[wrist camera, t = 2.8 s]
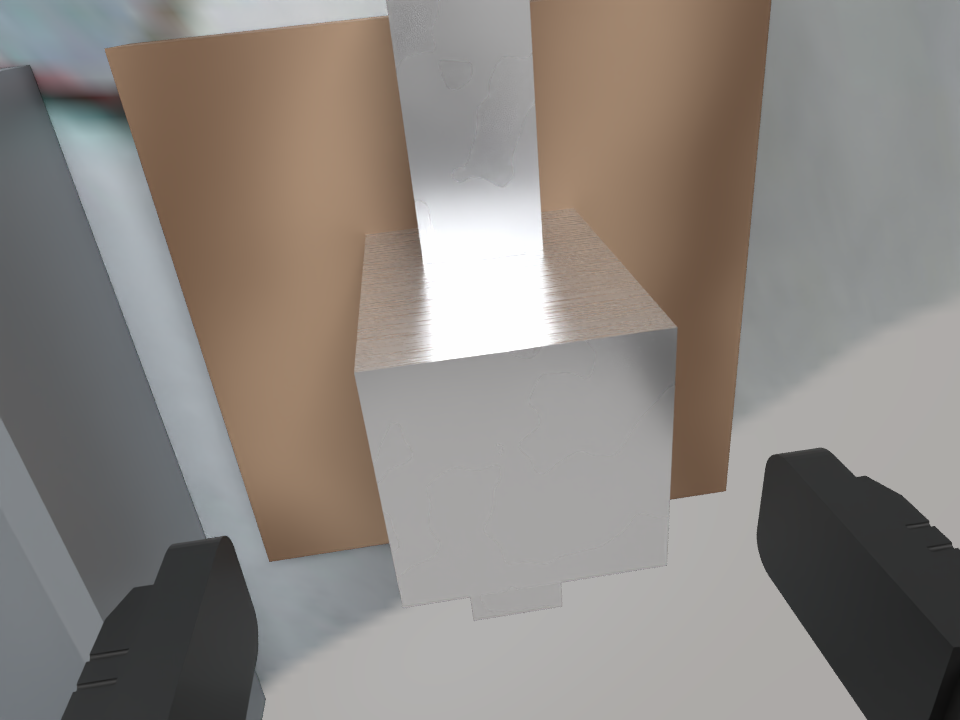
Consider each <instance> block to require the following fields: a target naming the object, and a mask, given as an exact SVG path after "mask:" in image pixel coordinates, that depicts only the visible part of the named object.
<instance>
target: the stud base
mask: <svg viewBox="0 0 960 720" xmlns="http://www.w3.org/2000/svg"><path fill="white" fill-rule="evenodd" d="M770 9H771V0H530V18H531V37H532V55H533V74H534V92H535V111H536V129H537V148H538V166H539V185H540V203H541V212H547V211H555V210H563V209H571V208H574V209H575V210H576V212H577V213H578V214H579V215H580V216H581V217H582V218H583V220H584V221H585V222H586V223H587V224H588V225H589V226H590V228H591V229H592V230H593V231H594V232H595V233H596V234H597V236H598V237H599V238H600V239H601V240H602V241H603V242H604V244H605V245H606V246H607V247H608V248H609V249H610V251H611V252H612V253H613V254H614V255H615V256H616V257H617V259H618V260H619V261H620V262H621V263H622V264H623V265H624V267H625V268H626V269H627V270H628V271H629V272H630V273H631V275H632V276H633V277H634V278H635V279H636V280H637V281H638V283H639V284H640V285H641V286H642V287H643V288H644V289H645V291H646V292H647V293H648V294H649V295H650V296H651V297H652V299H653V300H654V301H655V302H656V303H657V304H658V305H659V307H660V308H661V309H662V310H663V311H664V312H665V314H666V315H667V316H668V317H669V318H670V319H671V320H672V322H673V323H674V324H675V325H676V326H677V327H678V329H677V351H676V373H675V396H674V418H673V441H672V463H671V485H670V500H671V499H677V498H684V497H690V496H697V495H703V494H710V493H716V492H723V491H726V484H727V473H728V472H727V471H728V462H729V451H730V441H731V430H732V419H733V408H734V397H735V387H736V376H737V365H738V354H739V343H740V333H741V322H742V311H743V300H744V290H745V279H746V268H747V257H748V246H749V236H750V225H751V214H752V203H753V193H754V182H755V171H756V160H757V149H758V139H759V128H760V117H761V106H762V96H763V85H764V74H765V63H766V52H767V42H768V31H769V20H770ZM105 52H106V55H107V58H108V62H109V65H110V68H111V71H112V74H113V77H114V80H115V83H116V86H117V90H118V93H119V96H120V99H121V102H122V105H123V108H124V111H125V114H126V117H127V121H128V124H129V127H130V130H131V133H132V136H133V139H134V142H135V145H136V149H137V152H138V155H139V158H140V161H141V164H142V167H143V170H144V173H145V177H146V180H147V183H148V186H149V189H150V192H151V195H152V198H153V201H154V205H155V208H156V211H157V214H158V217H159V220H160V223H161V226H162V229H163V233H164V236H165V239H166V242H167V245H168V248H169V251H170V254H171V257H172V260H173V264H174V267H175V270H176V273H177V276H178V279H179V282H180V285H181V288H182V292H183V295H184V298H185V301H186V304H187V307H188V310H189V313H190V316H191V320H192V323H193V326H194V329H195V332H196V335H197V338H198V341H199V344H200V348H201V351H202V354H203V357H204V360H205V363H206V366H207V369H208V372H209V376H210V379H211V382H212V385H213V388H214V391H215V394H216V397H217V400H218V403H219V407H220V410H221V413H222V416H223V419H224V422H225V425H226V428H227V431H228V435H229V438H230V441H231V444H232V447H233V450H234V453H235V456H236V459H237V463H238V466H239V469H240V472H241V475H242V478H243V481H244V484H245V487H246V491H247V494H248V497H249V500H250V503H251V506H252V509H253V512H254V515H255V518H256V522H257V525H258V528H259V531H260V534H261V537H262V540H263V543H264V546H265V550H266V553H267V556H268V559H269V562H272V561H278V560H284V559H291V558H297V557H304V556H310V555H317V554H323V553H330V552H336V551H342V550H349V549H355V548H362V547H368V546H375V545H381V544H388V543H389V539H388V534H387V529H386V524H385V519H384V515H383V510H382V505H381V500H380V495H379V491H378V486H377V481H376V476H375V471H374V466H373V462H372V457H371V452H370V447H369V442H368V438H367V433H366V428H365V423H364V418H363V413H362V409H361V404H360V399H359V394H358V389H357V385H356V380H355V375H354V367H355V355H356V344H357V332H358V320H359V308H360V297H361V285H362V273H363V261H364V250H365V238H366V235H368V234H376V233H384V232H391V231H399V230H407V229H415V228H418V223H417V216H416V208H415V201H414V194H413V187H412V180H411V173H410V166H409V159H408V152H407V145H406V138H405V130H404V123H403V116H402V109H401V102H400V95H399V88H398V81H397V74H396V67H395V60H394V53H393V45H392V38H391V31H390V24H389V17H388V16H380V17H371V18H362V19H353V20H344V21H334V22H325V23H316V24H307V25H298V26H289V27H280V28H271V29H261V30H252V31H243V32H234V33H225V34H216V35H207V36H198V37H188V38H179V39H170V40H161V41H152V42H143V43H134V44H126V45H121V46H116V47H111V48H106V49H105Z"/></svg>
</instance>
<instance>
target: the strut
mask: <svg viewBox="0 0 960 720" xmlns="http://www.w3.org/2000/svg"><path fill="white" fill-rule="evenodd" d="M386 3H387V10H388V17H389V24H390V31H391V38H392V45H393V53H394V60H395V67H396V74H397V81H398V88H399V95H400V102H401V109H402V116H403V123H404V130H405V138H406V145H407V152H408V159H409V166H410V173H411V180H412V187H413V194H414V201H415V208H416V216H417V223H418V228H415V229H407V230H399V231H391V232H384V233H376V234H368V235H366V238H365V250H364V261H363V273H362V285H361V297H360V308H359V320H358V332H357V344H356V355H355V367H354V375H355V380H356V385H357V389H358V394H359V399H360V404H361V409H362V413H363V418H364V423H365V428H366V433H367V438H368V442H369V447H370V452H371V457H372V462H373V466H374V471H375V476H376V481H377V486H378V491H379V495H380V500H381V505H382V510H383V515H384V519H385V524H386V529H387V534H388V539H389V543H390V548H391V553H392V558H393V563H394V568H395V572H396V577H397V582H398V587H399V592H400V596H401V601H402V606H403V608H406V607H412V606H418V605H425V604H431V603H437V602H444V601H450V600H456V599H462V598H468V597H470V598H471V605H472V612H473V619H474V621H475V620H482V619H488V618H494V617H500V616H506V615H512V614H518V613H525V612H530V611H537V610H543V609H549V608H555V607H561V606H562V591H561V583H562V582H568V581H574V580H580V579H587V578H593V577H599V576H604V575H611V574H617V573H623V572H630V571H636V570H642V569H648V568H655V567H661V566H667V552H668V530H669V507H670V485H671V463H672V441H673V418H674V396H675V373H676V351H677V329H678V327H677V326H676V325H675V324H674V323H673V322H672V320H671V319H670V318H669V317H668V316H667V315H666V314H665V312H664V311H663V310H662V309H661V308H660V307H659V305H658V304H657V303H656V302H655V301H654V300H653V299H652V297H651V296H650V295H649V294H648V293H647V292H646V291H645V289H644V288H643V287H642V286H641V285H640V284H639V283H638V281H637V280H636V279H635V278H634V277H633V276H632V275H631V273H630V272H629V271H628V270H627V269H626V268H625V267H624V265H623V264H622V263H621V262H620V261H619V260H618V259H617V257H616V256H615V255H614V254H613V253H612V252H611V251H610V249H609V248H608V247H607V246H606V245H605V244H604V242H603V241H602V240H601V239H600V238H599V237H598V236H597V234H596V233H595V232H594V231H593V230H592V229H591V228H590V226H589V225H588V224H587V223H586V222H585V221H584V220H583V218H582V217H581V216H580V215H579V214H578V213H577V212H576V210H575V209H574V208H571V209H563V210H555V211H547V212H541V203H540V185H539V166H538V148H537V129H536V111H535V92H534V74H533V55H532V37H531V18H530V0H386Z"/></svg>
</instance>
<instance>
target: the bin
mask: <svg viewBox="0 0 960 720" xmlns="http://www.w3.org/2000/svg"><path fill="white" fill-rule="evenodd" d="M201 539H206V537H205V535H204V532H203V529H202V527H201V524H200V521H199V519H198V516H197V513H196V511H195V508H194V505H193V502H192V500H191V497H190V494H189V492H188V489H187V486H186V484H185V481H184V478H183V476H182V473H181V470H180V468H179V465H178V462H177V459H176V457H175V454H174V451H173V449H172V446H171V443H170V441H169V438H168V435H167V433H166V430H165V427H164V425H163V422H162V419H161V416H160V414H159V411H158V408H157V406H156V403H155V400H154V398H153V395H152V392H151V390H150V387H149V384H148V382H147V379H146V376H145V374H144V371H143V368H142V365H141V363H140V360H139V357H138V355H137V352H136V349H135V347H134V344H133V341H132V339H131V336H130V333H129V331H128V328H127V325H126V322H125V320H124V317H123V314H122V312H121V309H120V306H119V304H118V301H117V298H116V296H115V293H114V290H113V288H112V285H111V282H110V279H109V277H108V274H107V271H106V269H105V266H104V263H103V261H102V258H101V255H100V253H99V250H98V247H97V245H96V242H95V239H94V236H93V234H92V231H91V228H90V226H89V223H88V220H87V218H86V215H85V212H84V210H83V207H82V204H81V202H80V199H79V196H78V194H77V191H76V188H75V185H74V183H73V180H72V177H71V175H70V172H69V169H68V167H67V164H66V161H65V159H64V156H63V153H62V151H61V148H60V145H59V142H58V140H57V137H56V134H55V132H54V129H53V126H52V124H51V121H50V118H49V116H48V113H47V110H46V108H45V105H44V102H43V99H42V97H41V94H40V91H39V89H38V86H37V83H36V81H35V78H34V75H33V73H32V70H31V67H30V65H26V66H17V67H8V68H0V720H61V718H62V716H63V714H64V711H65V709H66V707H67V705H68V702H69V700H70V698H71V695H72V693H73V692H76V690H77V685H76V684H77V682H78V680H79V677H80V675H81V673H82V670H83V668H84V666H85V664H86V662H88V661H90V652H91V650H92V648H93V645H94V643H95V641H96V639H97V636H98V634H99V632H100V629H101V627H102V625H103V623H104V620H105V619H106V618H107V617H108V616H109V614H110V613H111V612H112V611H113V610H114V609H115V608H116V607H117V605H118V604H119V603H120V602H121V601H122V600H123V599H124V598H125V596H126V595H127V594H128V593H129V592H130V591H131V590H132V589H133V588H134V587H140V586H147V585H153V584H154V582H155V579H156V577H157V574H158V572H159V569H160V566H161V564H162V561H163V558H164V556H165V553H166V551H167V549H168V548H169V546H170V545H172V544H174V543H181V542H188V541H194V540H201ZM265 700H266V699H265V696H264V693H263V691H262V688H261V685H260V682H259V680H258V677H257V674H256V672H255V671H254V677H253V682H252V688H251V693H250V699H249V704H248V710H247V715H246V720H262V717H263V711H264V705H265Z"/></svg>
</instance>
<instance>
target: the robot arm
mask: <svg viewBox="0 0 960 720" xmlns="http://www.w3.org/2000/svg"><path fill="white" fill-rule="evenodd" d="M757 544H758V550H759V554H760V558H761V561H762V563H763V566H764V568H765V570H766V572H767V573H768V575H769V577H770V578H771V580H772V581H773V582H774V584H775V585H776V587H777V588H778V590H779V591H780V593H781V594H782V595H783V597H784V599H785V600H786V601H787V603H788V604H789V606H790V607H791V609H792V610H793V612H794V613H795V614H796V616H797V618H798V619H799V621H800V622H801V623H802V625H803V626H804V628H805V629H806V631H807V632H808V634H809V635H810V637H811V638H812V640H813V641H814V642H815V644H816V645H817V647H818V648H819V650H820V651H821V653H822V654H823V656H824V657H825V659H826V660H827V661H828V663H829V664H830V666H831V667H832V669H833V670H834V672H835V673H836V675H837V676H838V678H839V679H840V680H841V682H842V683H843V685H844V686H845V688H846V689H847V691H848V692H849V694H850V695H851V697H852V698H853V699H854V701H855V702H856V704H857V705H858V707H859V708H860V710H861V711H862V713H863V714H864V716H865V717H866V718H867V720H960V550H959V549H958V548H955V549H954V548H953V546H952V542H951V541H950V540H949V539H948V538H947V537H945V535H943V534H942V533H941V532H940V531H939V530H938V529H937V528H936V527H935V526H933V527H931V526H930V524H929V520H928V519H926V518H925V517H924V516H923V515H922V514H921V513H920V512H919V511H918V510H917V509H916V508H915V507H914V506H913V505H912V504H910V503H909V502H908V501H907V500H906V499H905V498H904V497H903V496H902V495H900V494H898V493H896V492H894V491H893V490H891V489H889V488H887V487H885V486H884V485H881V484H880V483H878V482H876V481H874V480H872V479H871V478H869V477H867V476H861V477H855V476H854V475H853V474H852V473H851V472H850V471H849V470H848V469H847V468H846V467H845V466H844V465H843V464H842V463H841V462H840V461H839V460H838V459H837V458H836V457H835V456H834V455H833V454H832V453H831V452H830V451H828V450H827V449H824V448H815V449H809V450H802V451H795V452H788V453H782V454H775V455H772V456H771V457H770V458H769V459H768V461H767V463H766V468H765V475H764V482H763V490H762V497H761V505H760V512H759V519H758V527H757ZM257 654H258V626H257V619H256V614H255V610H254V607H253V604H252V601H251V598H250V595H249V592H248V588H247V585H246V582H245V579H244V576H243V573H242V570H241V567H240V564H239V561H238V558H237V555H236V552H235V549H234V546H233V543H232V541H231V540H230V538H229V537H227V536H221V537H214V538H208V539H201V540H194V541H188V542H181V543H174V544H172V545H170V546H169V548H168V549H167V551H166V553H165V556H164V558H163V561H162V564H161V566H160V569H159V572H158V574H157V577H156V579H155V582H154V584H153V585H147V586H140V587H134V588H133V589H132V590H131V591H130V592H129V593H128V594H127V595H126V596H125V598H124V599H123V600H122V601H121V602H120V603H119V604H118V605H117V607H116V608H115V609H114V610H113V611H112V612H111V613H110V614H109V616H108V617H107V618H106V619H105V620H104V623H103V625H102V627H101V629H100V632H99V634H98V636H97V639H96V641H95V643H94V645H93V648H92V650H91V652H90V661H88V662H86V664H85V666H84V668H83V670H82V673H81V675H80V677H79V680H78V682H77V684H76V685H77V690H76V692H73V693H72V695H71V698H70V700H69V702H68V705H67V707H66V709H65V711H64V714H63V716H62V718H61V720H246V715H247V710H248V704H249V699H250V693H251V688H252V682H253V677H254V671H255V666H256V660H257Z"/></svg>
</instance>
